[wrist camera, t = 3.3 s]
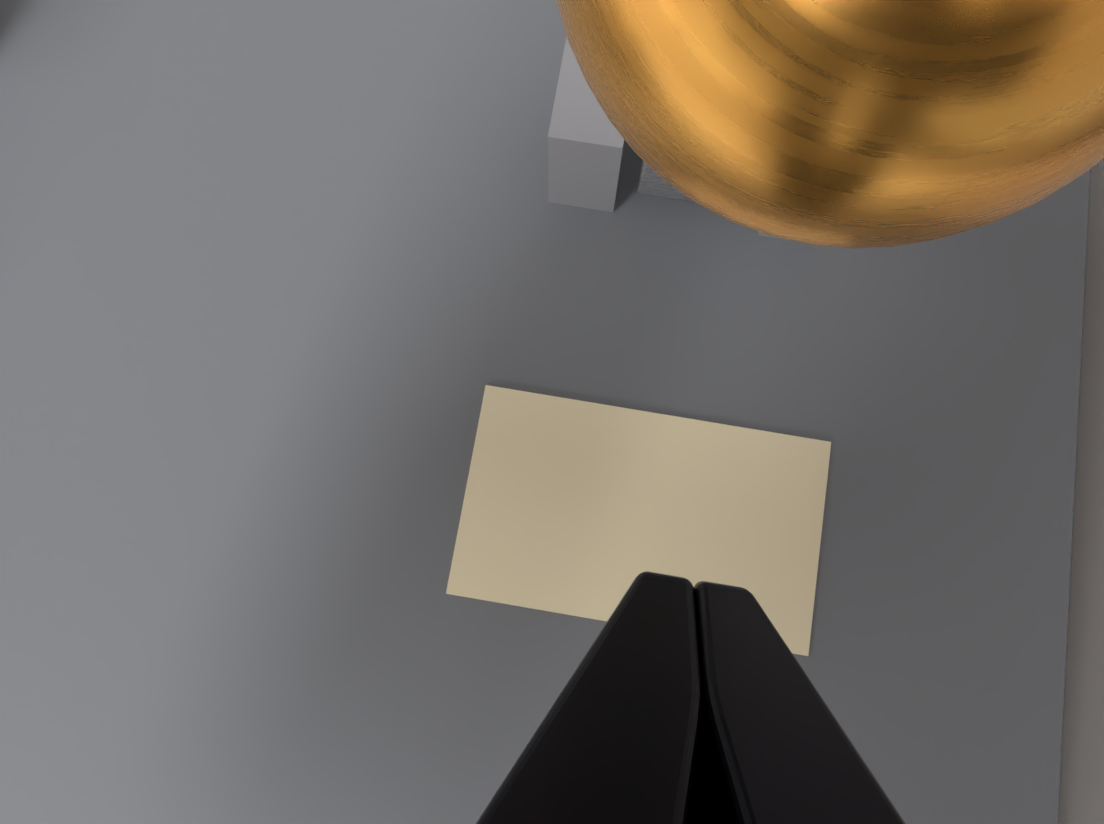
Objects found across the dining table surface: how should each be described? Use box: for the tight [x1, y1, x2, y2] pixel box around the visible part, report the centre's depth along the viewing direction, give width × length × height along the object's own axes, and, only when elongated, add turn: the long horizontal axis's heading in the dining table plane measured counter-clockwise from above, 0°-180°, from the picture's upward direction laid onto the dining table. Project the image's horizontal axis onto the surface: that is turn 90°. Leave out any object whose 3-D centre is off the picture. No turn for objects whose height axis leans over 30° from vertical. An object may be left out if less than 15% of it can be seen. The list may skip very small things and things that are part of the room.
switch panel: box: [0, 0, 1091, 824], centre depth 14 cm, size 16×26×4 cm, turn 80°
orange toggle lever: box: [556, 0, 1104, 249], centre depth 9 cm, size 3×3×11 cm
